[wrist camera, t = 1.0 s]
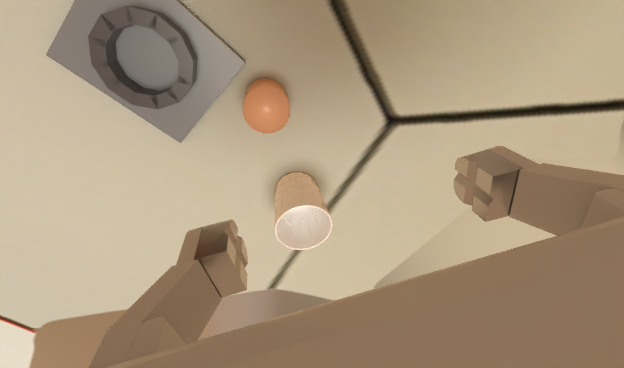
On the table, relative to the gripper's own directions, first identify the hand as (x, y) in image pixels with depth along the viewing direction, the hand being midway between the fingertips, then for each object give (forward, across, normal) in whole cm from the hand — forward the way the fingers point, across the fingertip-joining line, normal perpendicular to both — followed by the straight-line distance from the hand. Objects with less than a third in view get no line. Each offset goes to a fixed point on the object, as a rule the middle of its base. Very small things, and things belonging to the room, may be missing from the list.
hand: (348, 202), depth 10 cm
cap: (+31, +3, +3) cm, 31 cm away
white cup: (+32, +2, +18) cm, 37 cm away
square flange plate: (+31, +14, -5) cm, 35 cm away
